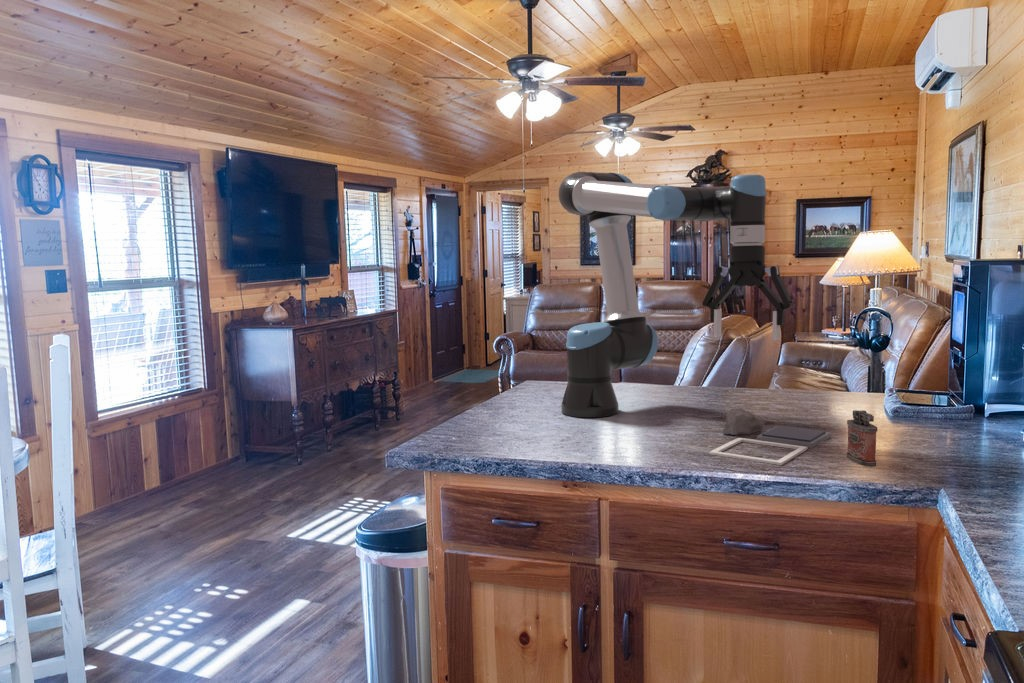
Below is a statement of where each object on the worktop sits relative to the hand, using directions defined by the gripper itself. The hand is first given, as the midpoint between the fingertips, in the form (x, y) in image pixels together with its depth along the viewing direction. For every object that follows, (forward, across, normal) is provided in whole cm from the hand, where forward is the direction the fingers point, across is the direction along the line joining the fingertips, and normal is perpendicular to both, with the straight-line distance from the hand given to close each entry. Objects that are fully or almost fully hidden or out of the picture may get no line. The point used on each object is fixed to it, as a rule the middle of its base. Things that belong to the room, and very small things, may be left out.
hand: (746, 338), depth 175 cm
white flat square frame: (+22, +9, -17) cm, 29 cm away
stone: (+22, 0, -1) cm, 22 cm away
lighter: (+22, +28, -14) cm, 38 cm away
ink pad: (+22, +12, -2) cm, 25 cm away
